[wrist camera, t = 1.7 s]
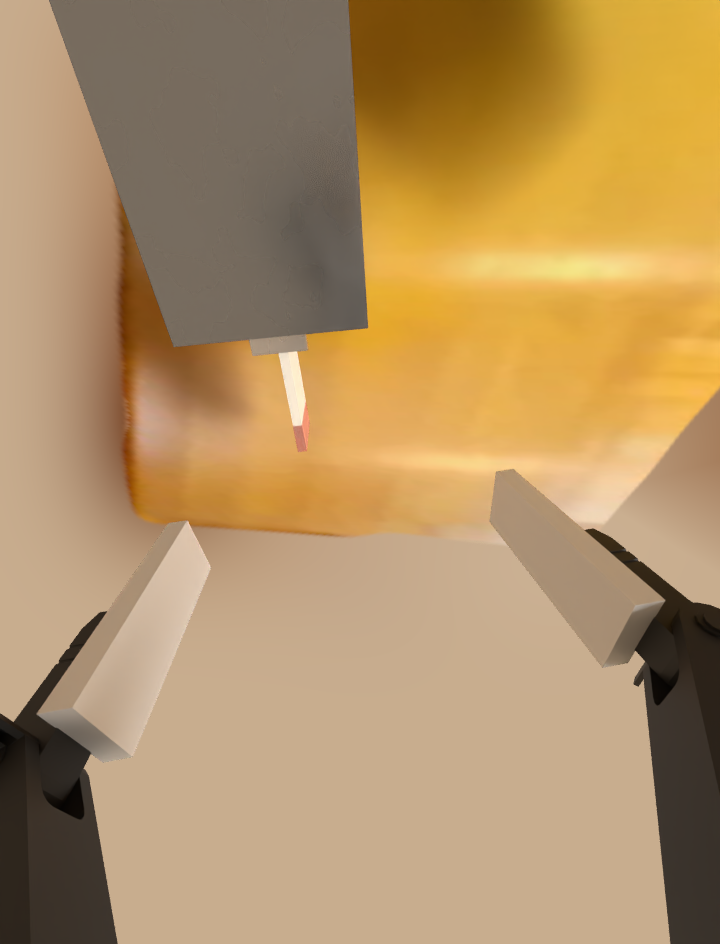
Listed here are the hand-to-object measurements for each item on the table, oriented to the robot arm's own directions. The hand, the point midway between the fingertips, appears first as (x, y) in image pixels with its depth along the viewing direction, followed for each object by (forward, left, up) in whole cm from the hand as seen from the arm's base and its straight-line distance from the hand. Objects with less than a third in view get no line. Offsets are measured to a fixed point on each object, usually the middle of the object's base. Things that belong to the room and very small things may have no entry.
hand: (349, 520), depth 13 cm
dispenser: (-13, -3, -23) cm, 27 cm away
